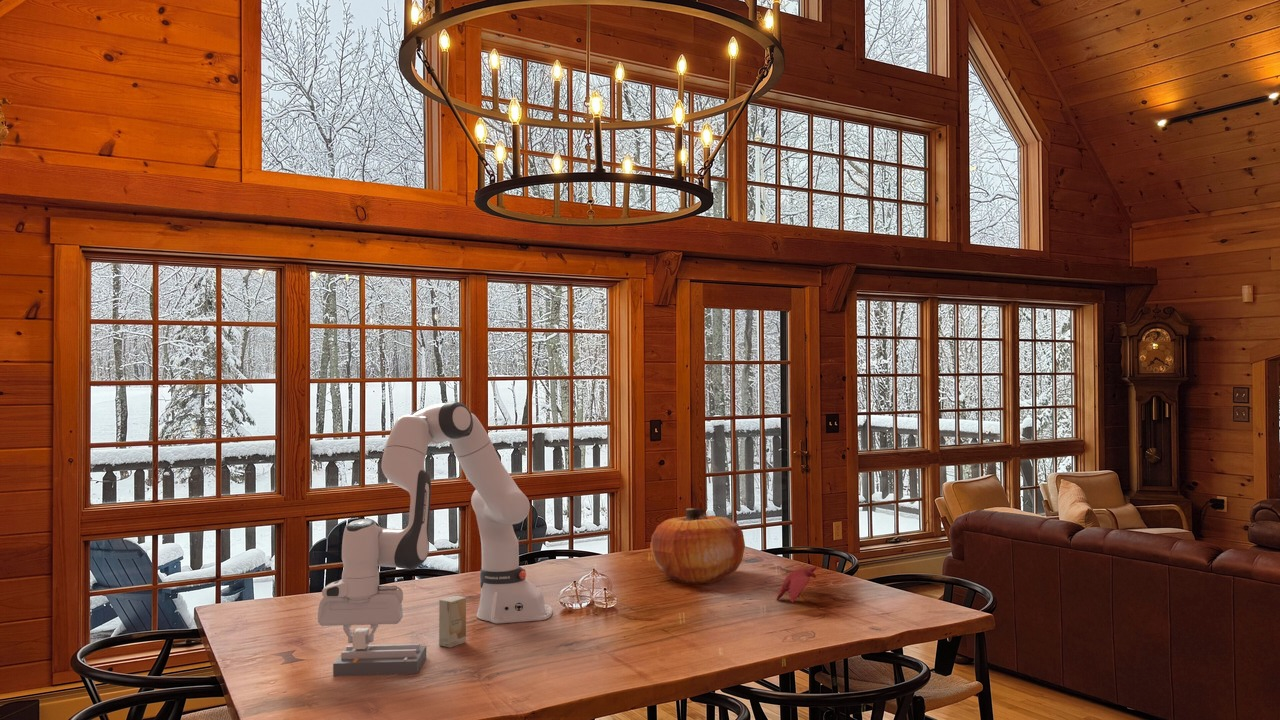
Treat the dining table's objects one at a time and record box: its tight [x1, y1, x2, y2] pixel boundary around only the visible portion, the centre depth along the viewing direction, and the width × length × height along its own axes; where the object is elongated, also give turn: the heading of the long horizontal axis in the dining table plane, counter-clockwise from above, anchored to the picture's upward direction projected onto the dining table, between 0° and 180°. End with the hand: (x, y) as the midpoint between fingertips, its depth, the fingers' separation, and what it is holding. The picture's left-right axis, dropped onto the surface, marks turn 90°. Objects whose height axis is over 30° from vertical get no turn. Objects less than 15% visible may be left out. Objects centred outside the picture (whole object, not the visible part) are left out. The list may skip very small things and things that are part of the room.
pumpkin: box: [650, 507, 746, 585], centre depth 305 cm, size 33×33×25 cm
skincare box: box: [438, 595, 467, 648], centre depth 233 cm, size 6×4×12 cm
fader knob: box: [352, 627, 371, 651], centre depth 215 cm, size 4×4×6 cm
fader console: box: [332, 643, 427, 677], centre depth 215 cm, size 20×12×5 cm, turn 93°
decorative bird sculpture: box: [776, 566, 818, 603], centre depth 273 cm, size 28×9×15 cm
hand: (360, 642), depth 215 cm, fingers closed on fader knob, 3 cm apart
